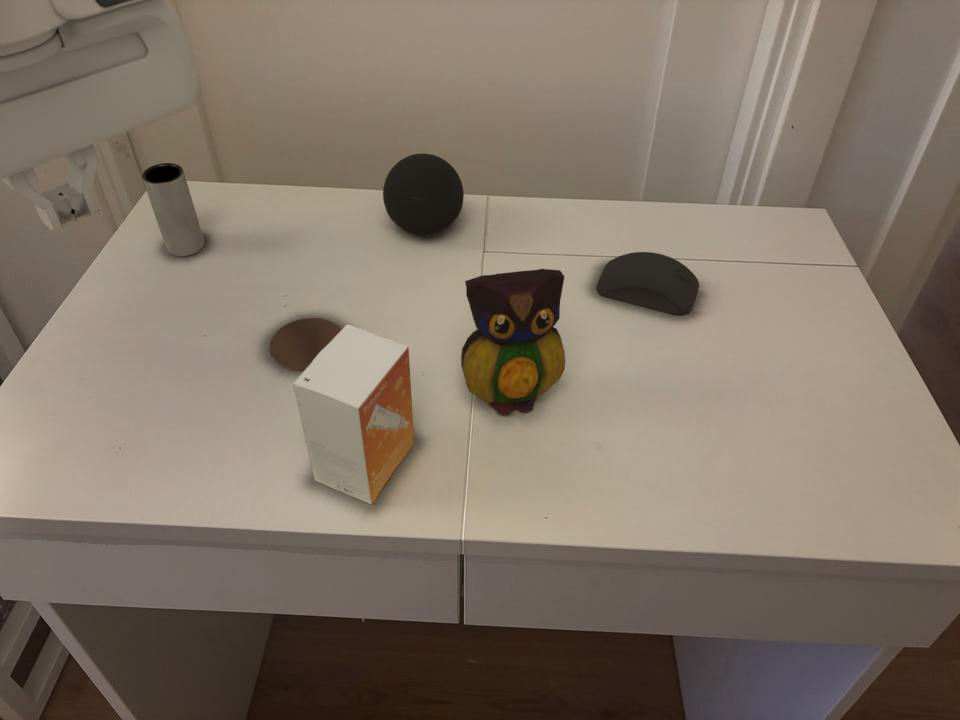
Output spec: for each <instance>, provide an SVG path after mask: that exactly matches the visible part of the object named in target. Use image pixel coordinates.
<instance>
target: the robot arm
mask: <svg viewBox="0 0 960 720" xmlns="http://www.w3.org/2000/svg"><path fill="white" fill-rule="evenodd" d="M201 90H202V83H201V78H200V73H199V69H198V66H197V62H196V59H195V56H194V52H193V49H192V46H191V44H190V40H189V38H188V35H187V33H186V31H185V28H184V25H183V23H182V21H181V18H180V16H179V14H178V13H177V11H176V9H175V8H174V7H173V6H172V5H171V4H170V2H168V1H167V0H0V181H1V182H2V183H4V184H5V185H6V186H7V187H9V188H10V189H11V190H13V191H14V192H15V193H16V194H18V195H20V196H21V197H23V198H24V199H26V200H27V201H29V202H30V203H32V204H33V206H34V208H35V210H36V212H37V214H38V216H39V218H40V220H41V221H42V223H43V225H45V227H47V228H48V229H50V230H51V232H55V231H58V230H60V229H62V228H63V229H64V228H65V227H66V226H70V225H71V224H73V223H76V222H78V221H80V220H82V219H85V218H87V217H89V216H92V215H95V214H97V213H99V208H98V206H97V203H96V201H95V198H94V196H93V193H92V191H91V190H93V186H94V182H95V178H96V174H97V171H98V170H97V169H98V166H99V160H100V158H99V156H98V153H97V151H96V148H95V145H97V144H100V143H101V142H105V141H108V140H110V139H113V138H115V137H118V136H120V135H123V134H127V133H129V132H131V131H134V130H137V129H139V128H141V127H145V126H147V125H150V124H153V123H156V122H158V121H160V120H164V119H165V118H169V117H171V116H174V115H177V114H179V113H181V112H184V111H188V110H190V109H192V108H194V106H196V104H197V102H198V99H199V95H200V92H201ZM59 158H65V159H66V160H67V161H68V164H67V171H66V178H65V179H66V180H65V183H64V184H62V185H59V186H57V187H55V188H52V189H49V190H47V191H44V192H42V193H41V191H38V190H37V189H36V188H35V187H33V185H35V184H38V182H39V179H38V176H37V174H36V172H35V170H34V168H35V167H39V166H41V165H44V164H46V163H49V162H51V161H54V160H57V159H59Z"/></svg>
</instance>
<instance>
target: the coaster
mask: <svg viewBox="0 0 960 720" xmlns="http://www.w3.org/2000/svg"><path fill="white" fill-rule="evenodd" d="M341 330H342V328H341V327H340V326H339V325H337V324H336V323H335V322H333V321H331V320H328V319H325V318H320V317H319V318H318V317H306V318H300V319H296V320H293V321H291V322H288V323H287V324H284V325H283V326H281V327H280V328H279V329H278V330H277V331H275V332H274V334H273V335H272V337H271V339H270V342H269V353H270V356H271V358H272V359H273V360H274V362H275V363H276V364H278V365H279V366H281V367H283V368H284V369H285V368H286V369H288V370H292V371H298V372H300V371H301V372H303V371H304V370H305V369H306V368H307V367H308V366H309V365H310V364H311V362H312V361H313V360H314V359H315V357H316V356H317V355H318V354H319V353H320V351H321V350H322V349H324V348H325V347H326V346H327V345H328V344H329V343H330V342H331V341H332V340H333V338H334V337H335V336H336V335H337V334H338V333H339V332H340V331H341Z"/></svg>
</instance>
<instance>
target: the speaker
mask: <svg viewBox="0 0 960 720" xmlns="http://www.w3.org/2000/svg"><path fill="white" fill-rule="evenodd" d="M385 177H386V178H385V180H384V182H383V183H384V184H383V188H382V200H383V205H384V208H385V211H386V213H387V215H388V217H389V218H390V220H391V221H392V222H393V223H394V224H395V225H396V226H397V227H398V228H399V229H401V230H402V231H404V232H406V233H409V234H411V235H414V236H420V237H429V236H434V235H437V234H439V233H442V232H444V231H446V230H447V229H448V228H450V227H451V226H452V225H453V224H454V223H455V221H456V220H457V218H458V216H460V214H461V211H462V208H463V205H464V199H465V197H464V195H465V194H464V187H463V183H462V179H461V177H460V175H459V174H458V172H457V170H456V169H455V167H453V165H451V164H450V163H449V162H448V161H447V160H445V159H444V158H442V157H440V156H438V155H435V154H431V153H423V152H422V153H414V154H411V155H408V156H406V157H404V158H401V159H400V160H398V161H397V163H395V164H394V165H393V166H392V168H391V169H390V170H389V172H388V173H387V175H386V176H385Z"/></svg>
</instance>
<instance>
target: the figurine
mask: <svg viewBox="0 0 960 720" xmlns="http://www.w3.org/2000/svg"><path fill="white" fill-rule="evenodd" d="M565 278H566V277H565V275H564V274H563V273H562V271H561V270H560V269H548V268H547V269H546V268H538V269H531V270H520V271H519V270H518V271H512V272H502V273H494V274H483V275H479V276H476V277H473V278H470V279H467V280H465V281H464V283H465V287H466V288H465V292H466V293H465V294H466V295H465V296H466V299H467V301H468V305H469V309H470V313H471V315H472V319H473V322H474V326H475V328H476V330H474V331H472V333H470V335H469V336H468V337H467V338H466V340H465V342H464V344H463V346H462V349H461V356H460V365H461V370H462V373H463V377H464V378H463V379H464V382H465V385H466V387H467V390H468V392H469V393H471V394H473V395H475V396H477V397H478V398H480V399H481V400H482V401H484V402H485V403H487V404H489V406H491V407H492V408H493V409H494V410H495V412H497V414H499V415H505V416H509V415H510V414H511V413H512V412H513V411H514V408H515V409H517V411H520V412H523V413H527V412H529V411H532V410H533V409H534V405H535V403H536V400H537V399H538V398H539V397H540V396H543V395H544V394H545V393H546V392H547V391H548V390H550V389H551V387H553V386H554V385H555V384H556V383H558V382H559V380H560V379H561V378H562V376H563V373H564V372H565V368H566V367H565V366H566V354H565V353H566V352H565V349H564V348H565V347H564V344H563V340H562V338H561V334H560V333H559V331H558V329H557V328H556V327H555V326H556V324H557V323H558V321H559V320H560V319H561V318H560V316H561V315H560V314H561V313H560V311H561V299H562V293H563V287H564V281H565Z"/></svg>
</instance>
